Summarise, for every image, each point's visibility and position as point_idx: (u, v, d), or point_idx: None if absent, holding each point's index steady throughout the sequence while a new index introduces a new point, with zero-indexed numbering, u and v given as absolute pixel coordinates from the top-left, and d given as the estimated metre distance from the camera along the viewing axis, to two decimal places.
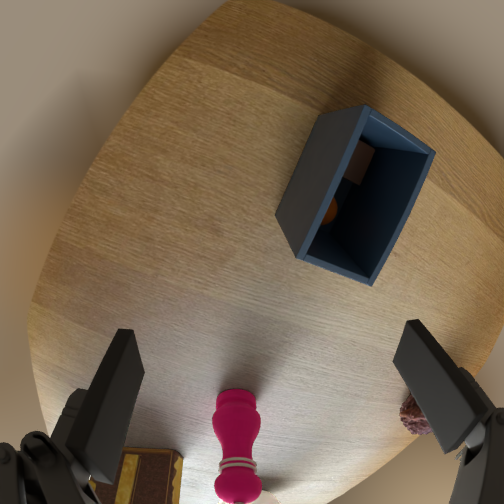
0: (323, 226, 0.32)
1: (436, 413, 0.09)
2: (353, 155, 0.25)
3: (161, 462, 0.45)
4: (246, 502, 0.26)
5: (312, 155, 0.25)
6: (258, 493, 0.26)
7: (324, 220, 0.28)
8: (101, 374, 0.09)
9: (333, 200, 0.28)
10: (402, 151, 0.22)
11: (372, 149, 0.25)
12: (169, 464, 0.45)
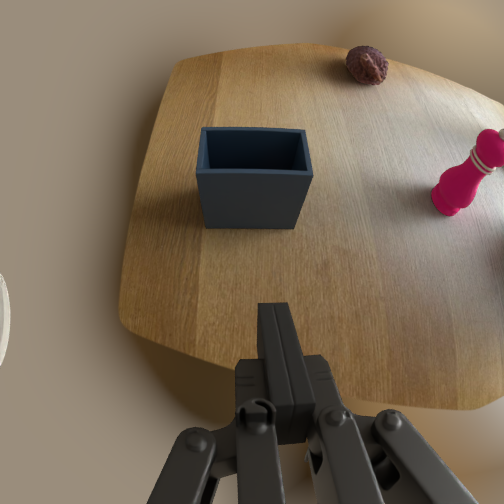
0: None
1: None
2: None
3: None
4: (497, 133, 0.28)
5: (240, 211, 0.36)
6: (485, 130, 0.29)
7: None
8: (269, 340, 0.12)
9: None
10: (209, 153, 0.35)
11: None
12: None
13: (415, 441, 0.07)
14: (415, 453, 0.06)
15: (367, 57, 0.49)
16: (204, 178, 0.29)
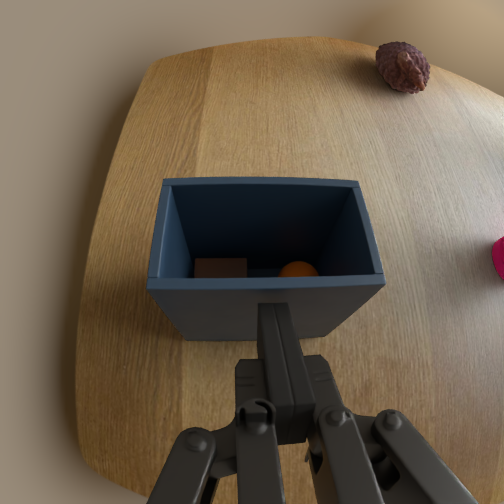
0: None
1: None
2: None
3: None
4: None
5: (240, 328, 0.20)
6: None
7: (313, 267, 0.24)
8: (269, 340, 0.12)
9: (287, 265, 0.24)
10: (182, 223, 0.20)
11: (197, 261, 0.22)
12: None
13: (415, 440, 0.07)
14: (415, 453, 0.06)
15: (407, 57, 0.34)
16: (166, 295, 0.14)
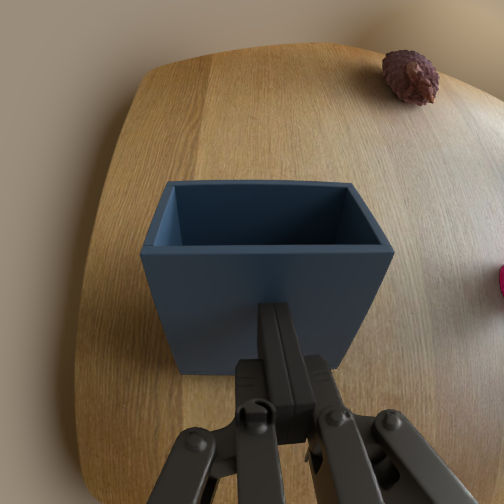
0: None
1: None
2: None
3: None
4: None
5: (241, 345, 0.18)
6: None
7: None
8: (269, 340, 0.12)
9: None
10: (182, 236, 0.20)
11: None
12: None
13: (415, 440, 0.07)
14: (415, 453, 0.06)
15: (417, 67, 0.32)
16: (160, 268, 0.13)
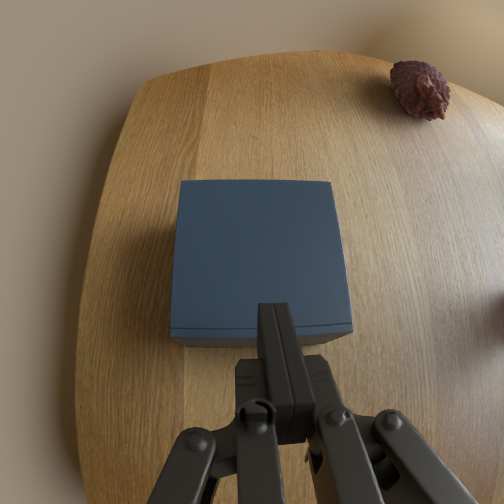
0: None
1: None
2: None
3: None
4: None
5: (240, 270, 0.20)
6: None
7: None
8: (269, 340, 0.12)
9: None
10: None
11: None
12: None
13: (415, 440, 0.07)
14: (415, 453, 0.06)
15: (428, 81, 0.31)
16: (190, 188, 0.22)
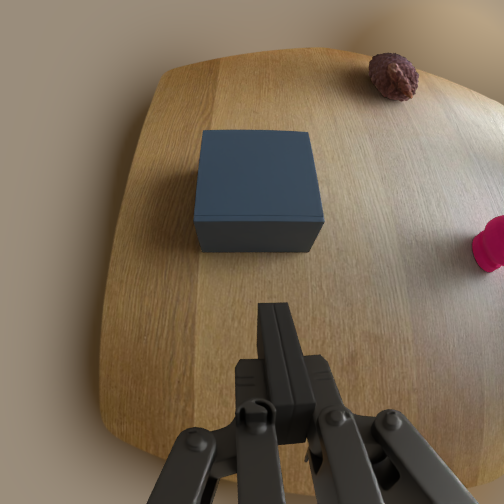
0: None
1: None
2: None
3: None
4: None
5: (244, 180, 0.28)
6: None
7: None
8: (269, 340, 0.12)
9: None
10: None
11: None
12: None
13: (415, 440, 0.07)
14: (415, 453, 0.06)
15: (396, 68, 0.39)
16: (209, 135, 0.31)
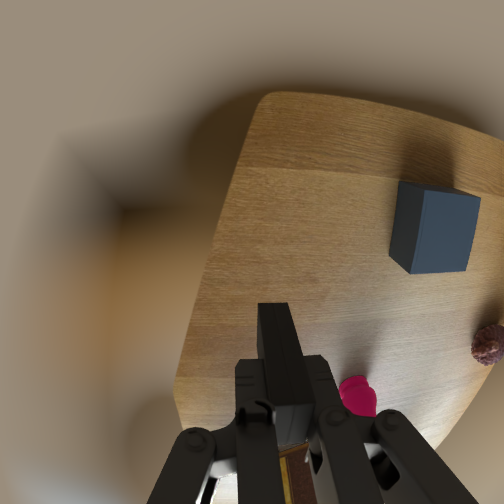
0: None
1: None
2: None
3: (305, 455, 0.59)
4: None
5: (443, 225, 0.34)
6: None
7: None
8: (269, 340, 0.12)
9: None
10: None
11: None
12: None
13: (415, 440, 0.07)
14: (415, 453, 0.06)
15: (494, 349, 0.45)
16: (476, 202, 0.33)
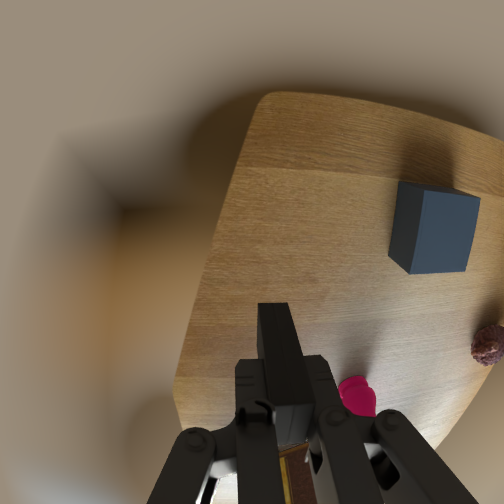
0: None
1: None
2: None
3: (304, 455, 0.59)
4: None
5: (443, 225, 0.34)
6: None
7: None
8: (269, 340, 0.12)
9: None
10: None
11: None
12: None
13: (415, 440, 0.07)
14: (415, 453, 0.06)
15: (494, 349, 0.45)
16: (476, 202, 0.33)
